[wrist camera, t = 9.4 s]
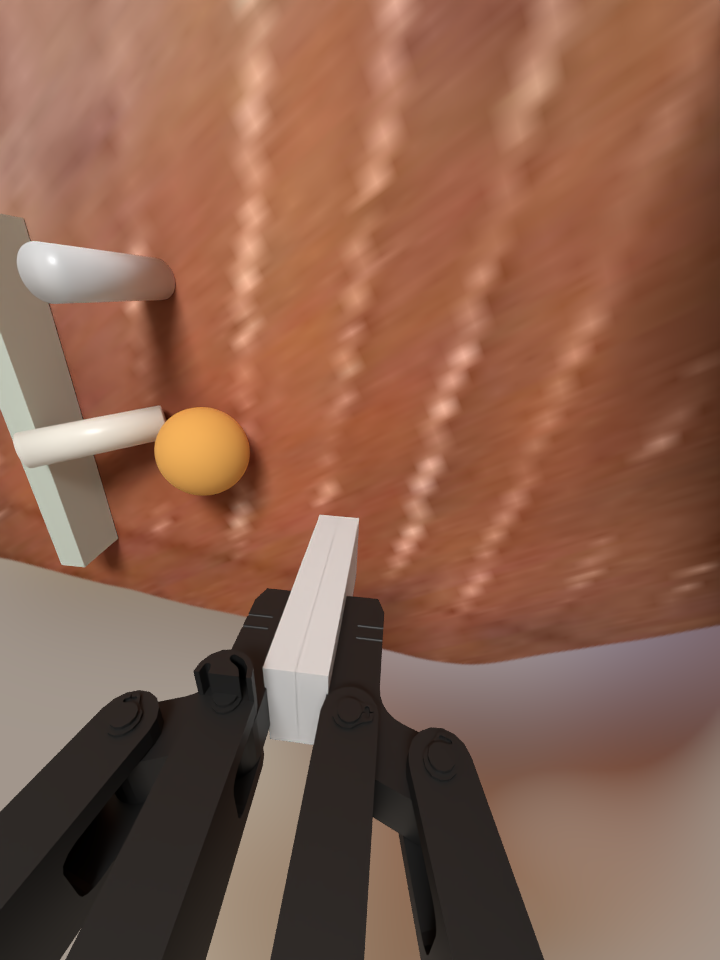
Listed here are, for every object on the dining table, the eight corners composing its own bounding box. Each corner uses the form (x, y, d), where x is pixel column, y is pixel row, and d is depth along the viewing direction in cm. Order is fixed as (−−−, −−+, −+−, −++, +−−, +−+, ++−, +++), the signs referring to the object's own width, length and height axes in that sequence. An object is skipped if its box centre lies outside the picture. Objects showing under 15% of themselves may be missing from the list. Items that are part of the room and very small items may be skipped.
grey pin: (134, 256, 24) (8, 240, 16) (171, 258, 23) (61, 242, 16) (142, 299, 25) (28, 302, 17) (178, 301, 25) (77, 304, 17)
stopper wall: (-7, 217, 23) (-81, 203, 20) (23, 218, 23) (-46, 204, 20) (97, 536, 34) (61, 564, 31) (118, 538, 34) (84, 567, 31)
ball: (129, 447, 21) (238, 429, 22) (147, 398, 26) (237, 385, 27) (168, 521, 25) (260, 503, 26) (178, 468, 30) (256, 454, 31)
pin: (159, 400, 27) (18, 426, 25) (160, 413, 26) (9, 443, 23) (169, 428, 29) (38, 456, 26) (171, 443, 27) (31, 475, 24)
